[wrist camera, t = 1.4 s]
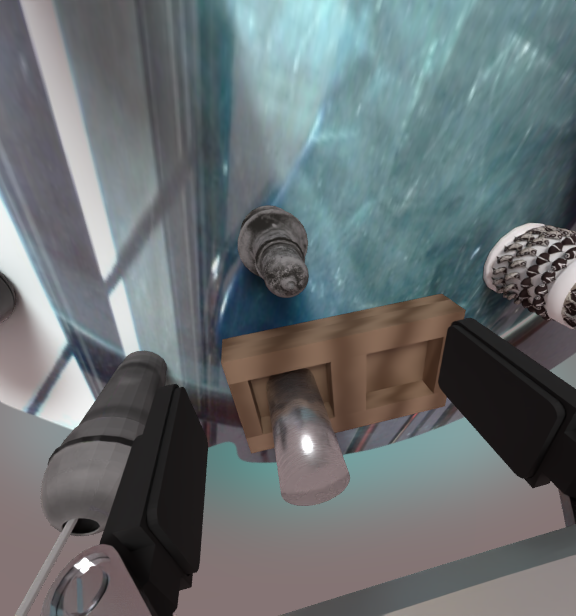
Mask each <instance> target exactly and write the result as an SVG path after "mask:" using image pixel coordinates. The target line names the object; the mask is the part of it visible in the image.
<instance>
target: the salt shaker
mask: <svg viewBox="0 0 576 616" xmlns="http://www.w3.org/2000/svg"><path fill="white" fill-rule="evenodd" d="M307 246H308V240H307V234H306V231H305V229H304V226H303V225H302V224H301V222H300V221H299V220H298V219H297V218H296V217H295V216H293V215H292V214H290V213H288V212H286V211H284V210H283V209H281V208H278V207H276V206H262V207H258V208H256V209H254V210H252V211H251V212H250V213H249V214H248V215H247V216H246V218H245V219H244V221H243V223H242V226H241V231H240V234H239V237H238V252H239V255H240V258H241V260H242V262H243V264H244V265H245V266H246V267H247V268H248V269H249V270H250V271H251V272H252V273H254V274H256V275H257V276H260V277H262V278H263V279H264V281H265V284H266V286H267V288H268V289H269V290H270V291H271V292H272V293H273V294H275V295H277V296H279V297H286V298H288V297H293V296H295V295H298V294H299V293H300V292H302V291H303V290H304V288H305V287H306V285H307V283H308V277H309V275H308V269H307V267H306V265H305V255H306V253H307Z"/></svg>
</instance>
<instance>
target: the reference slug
mask: <svg viewBox="0 0 576 616" xmlns="http://www.w3.org/2000/svg"><path fill="white" fill-rule="evenodd" d="M266 390H267V397H268V404H269V411H270V418H271V425H272V432H273V439H274V446H275V453H276V460H277V467H278V474H279V481H280V488H281V495H282V497H283V499H284V500H285V501H287V502H288V503H290V504H294V505H299V506H309V505H315V504H320V503H323V502H325V501H328V500H330V499H332V498H334V497H336V496H337V495H339V494H340V493H341V492H342V491H343V490H344V489H345V488H346V487H347V485H348V483H349V480H350V475H349V472H348V469H347V466H346V464H345V461H344V459H343V455H342V453H341V450H340V447H339V444H338V441H337V439H336V436H335V433H334V430H333V428H332V425H331V422H330V419H329V416H328V414H327V411H326V408H325V405H324V403H323V400H322V397H321V394H320V391H319V389H318V386H317V383H316V380H315V378H314V375H313V373H312V372H311V371H310V370H309V369H307V368H302V369H298V370H293V371H289V372H284V373H280V374H275V375H271V376H270V378H269V379H268V381H267V384H266Z"/></svg>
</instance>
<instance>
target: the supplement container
mask: <svg viewBox="0 0 576 616" xmlns="http://www.w3.org/2000/svg"><path fill="white" fill-rule="evenodd" d="M15 305H16V295H15V292H14V289H13V287H12V285H11V284H10V282H9V281H8V280H7V279H6V277H5V276H4V275H3V274H1V273H0V324H1V323H2V322H3V321H5V320H6V319H7V318H8V317H9V316H10V315H11V314H12V313H13V311H14V308H15Z"/></svg>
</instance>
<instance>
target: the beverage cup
mask: <svg viewBox="0 0 576 616" xmlns="http://www.w3.org/2000/svg"><path fill="white" fill-rule="evenodd" d="M166 370H167V366H166V363H165V361H164V360H163V358H161V357H160V356H159V355H157V354H155V353H153V352H148V351H137V352H134V353H131V354H130V355H128V356H127V357H126V358H125V359H124V361H123V362H122V364H121V365H120V366H119V367H118V368H117V370H116V371H115V373H114V374H113V376H112V377H111V379H110V380H109V382H108V383H107V385H106V386H105V387H104V389H103V390H102V392H101V393H100V395H99V396H98V398H97V399H96V401H95V402H94V404H93V405H92V407H91V408H90V409H89V411H88V412H87V414H86V415H85V417H84V418H83V420H82V421H81V423H80V424H79V426H77V427H76V428H75V429H74V430H73V431H72V432H71V433H70V434H69V436H68V437H67V438H66V439H65V440H64V442H63V443H62V445H61V446H60V447H58V448H57V449H56V450H55V451H54V453H53V454H52V455H51V457H50V458H49V462H48V467H47V469H46V472H45V474H44V477H43V480H42V486H41V507H42V510H43V513H44V515H45V517H46V518H47V519H48V521H49V523H50V524H51V525H52V526H53V527H54V528H56V529H57V530H59V531H60V532H61V534H60V536H59V538H58V540H57V541H56V543H55V545H54V547H53V548H52V550H51V552H50V554H49V556H48V557H47V559H46V561H45V563H44V564H43V566H42V568H41V570H40V572H39V573H38V575H37V577H36V579H35V581H34V582H33V584H32V586H31V588H30V589H29V591H28V593H27V595H26V596H25V598H24V600H23V602H22V604H21V605H20V607H19V609H18V611H17V612H16V614H15V616H27V614H28V612H29V610H30V608H31V606H32V604H33V603H34V601H35V599H36V597H37V595H38V593H39V591H40V589H41V588H42V586H43V584H44V582H45V580H46V578H47V576H48V575H49V573H50V571H51V569H52V567H53V565H54V563H55V562H56V560H57V558H58V556H59V554H60V552H61V550H62V548H63V547H64V545H65V543H66V541H67V539H68V537H69V536H70V535H74V536H87V535H93V534H96V533H99V532H102V531H104V529H105V526H106V523H107V520H108V517H109V514H110V511H111V508H112V505H113V502H114V499H115V496H116V493H117V490H118V487H119V484H120V481H121V478H122V475H123V471H124V468H125V465H126V462H127V459H128V456H129V453H130V450H131V447H132V444H133V442H134V440H135V438H136V437H137V436H139V435H142V434H143V431H144V428H145V425H146V422H147V418H148V415H149V412H150V409H151V405H152V402H153V399H154V395H155V392H156V390H157V389H158V388H160V387H164V386H165V381H166Z"/></svg>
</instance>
